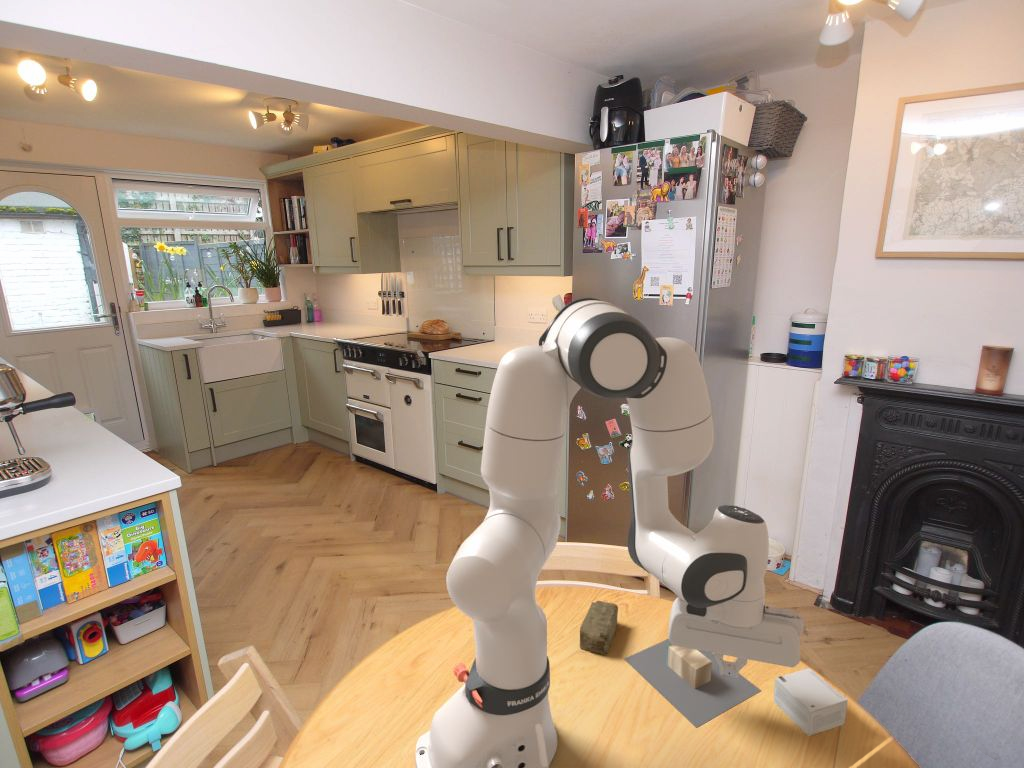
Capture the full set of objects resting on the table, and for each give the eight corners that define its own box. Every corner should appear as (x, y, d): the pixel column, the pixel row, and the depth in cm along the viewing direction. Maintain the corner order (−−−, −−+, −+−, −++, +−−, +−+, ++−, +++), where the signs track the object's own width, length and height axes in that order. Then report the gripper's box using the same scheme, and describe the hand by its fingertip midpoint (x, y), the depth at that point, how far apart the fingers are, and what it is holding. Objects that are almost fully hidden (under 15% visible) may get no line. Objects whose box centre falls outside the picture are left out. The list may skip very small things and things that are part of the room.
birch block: (695, 669, 93) (667, 645, 99) (694, 689, 94) (666, 664, 100) (711, 661, 95) (682, 638, 101) (710, 680, 96) (681, 656, 102)
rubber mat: (696, 729, 86) (696, 727, 86) (623, 660, 102) (623, 658, 101) (761, 692, 93) (761, 690, 93) (684, 633, 109) (684, 631, 109)
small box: (846, 726, 86) (849, 700, 85) (808, 739, 84) (811, 712, 83) (807, 691, 94) (810, 666, 93) (771, 702, 91) (773, 676, 90)
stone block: (618, 623, 113) (619, 602, 111) (607, 659, 102) (607, 637, 101) (592, 617, 115) (592, 596, 114) (578, 652, 104) (578, 630, 103)
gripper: (801, 600, 86) (793, 673, 89) (670, 581, 93) (667, 649, 95) (809, 625, 80) (800, 702, 83) (669, 602, 87) (666, 674, 90)
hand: (728, 674), depth 89 cm, fingers closed
